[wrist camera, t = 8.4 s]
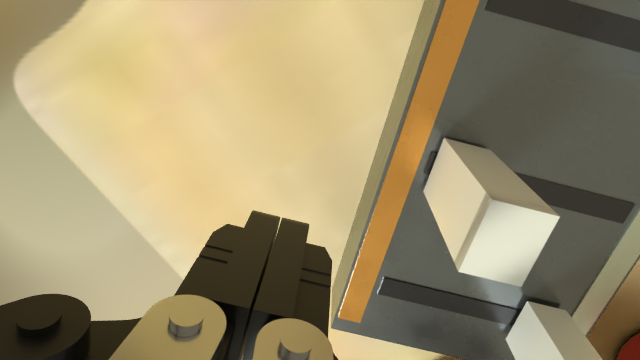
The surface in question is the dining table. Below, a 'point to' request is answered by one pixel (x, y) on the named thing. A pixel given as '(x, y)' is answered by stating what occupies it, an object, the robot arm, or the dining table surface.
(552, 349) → the handle
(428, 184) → the handle
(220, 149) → the dining table surface
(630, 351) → the beer can
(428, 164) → the panel
